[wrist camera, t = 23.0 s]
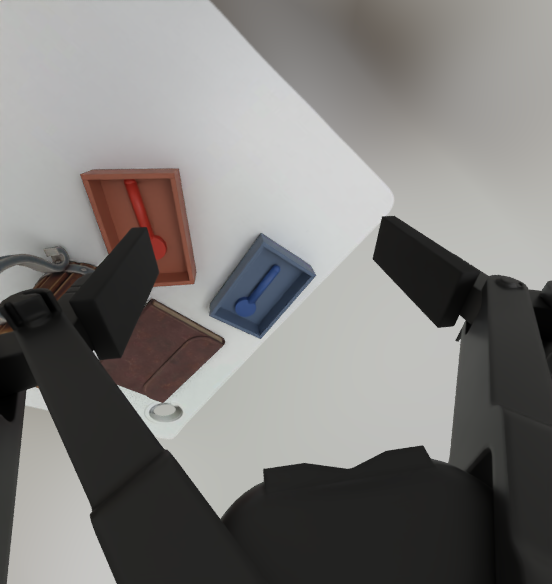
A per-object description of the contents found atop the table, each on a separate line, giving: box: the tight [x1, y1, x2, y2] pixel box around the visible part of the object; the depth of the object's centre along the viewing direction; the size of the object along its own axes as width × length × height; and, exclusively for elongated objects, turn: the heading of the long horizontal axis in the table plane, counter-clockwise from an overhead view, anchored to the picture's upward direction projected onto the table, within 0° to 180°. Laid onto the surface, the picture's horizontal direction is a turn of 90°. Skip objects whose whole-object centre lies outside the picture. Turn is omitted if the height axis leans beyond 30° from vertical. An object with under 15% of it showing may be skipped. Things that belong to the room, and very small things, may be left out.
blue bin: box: [209, 233, 316, 339], centre depth 44 cm, size 15×10×4 cm
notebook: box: [100, 299, 225, 403], centre depth 49 cm, size 15×20×2 cm
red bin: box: [80, 169, 196, 287], centre depth 36 cm, size 15×10×4 cm
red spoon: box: [124, 179, 167, 260], centre depth 36 cm, size 11×4×1 cm, turn 4°
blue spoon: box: [235, 265, 280, 317], centre depth 45 cm, size 11×4×1 cm, turn 143°
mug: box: [0, 247, 97, 388], centre depth 34 cm, size 16×11×15 cm
